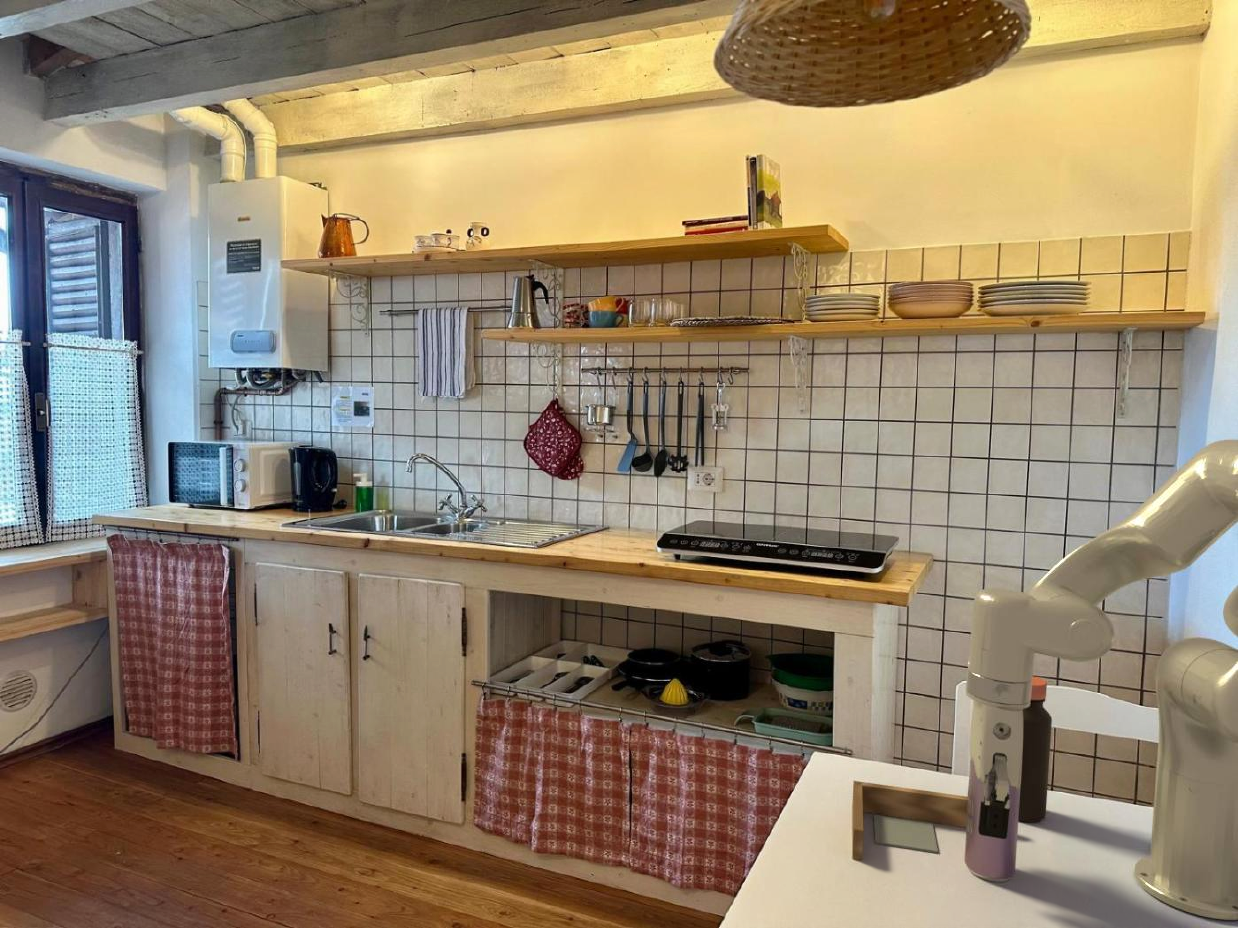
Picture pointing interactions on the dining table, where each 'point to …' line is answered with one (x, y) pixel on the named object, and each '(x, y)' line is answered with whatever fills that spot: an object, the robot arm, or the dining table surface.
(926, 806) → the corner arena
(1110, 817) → the dining table surface
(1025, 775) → the bottle
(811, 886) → the dining table surface
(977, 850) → the beverage can
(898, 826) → the pad
